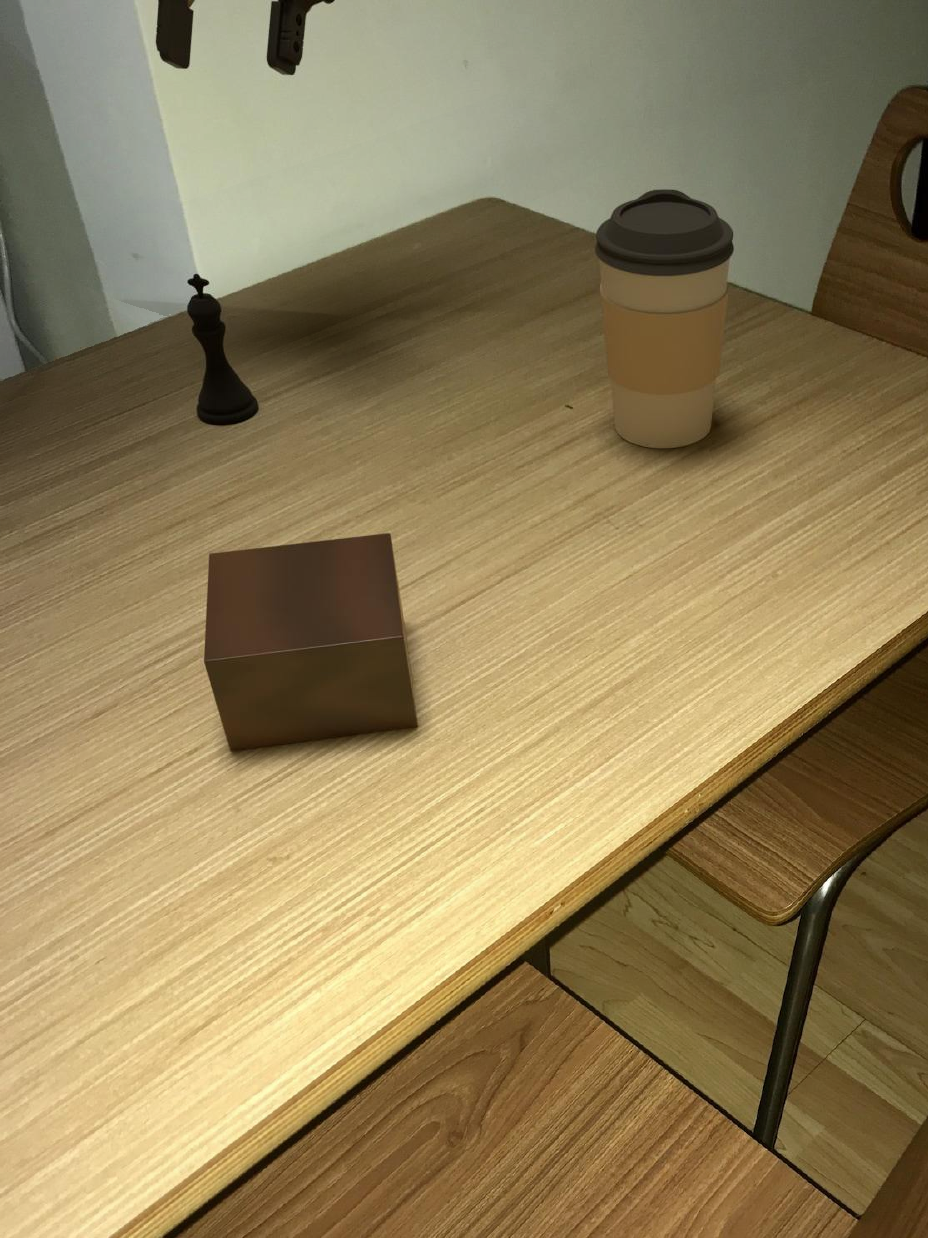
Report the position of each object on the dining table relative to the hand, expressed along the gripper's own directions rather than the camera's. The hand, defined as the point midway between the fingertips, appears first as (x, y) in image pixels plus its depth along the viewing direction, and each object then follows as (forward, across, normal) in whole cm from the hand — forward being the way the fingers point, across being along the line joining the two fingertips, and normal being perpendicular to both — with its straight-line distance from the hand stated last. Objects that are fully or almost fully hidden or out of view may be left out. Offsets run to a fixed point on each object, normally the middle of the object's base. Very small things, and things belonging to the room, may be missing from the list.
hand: (226, 68), depth 88 cm
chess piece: (+22, -2, +6) cm, 22 cm away
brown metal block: (+36, +22, -15) cm, 45 cm away
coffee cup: (+18, +29, +15) cm, 37 cm away
